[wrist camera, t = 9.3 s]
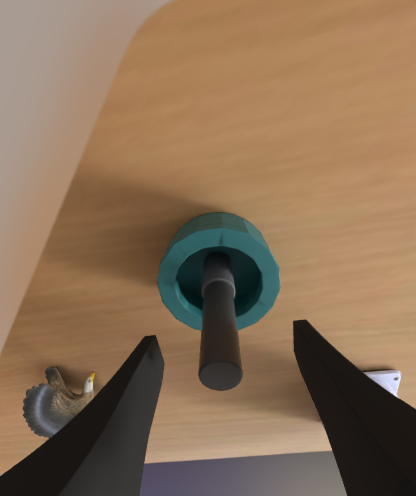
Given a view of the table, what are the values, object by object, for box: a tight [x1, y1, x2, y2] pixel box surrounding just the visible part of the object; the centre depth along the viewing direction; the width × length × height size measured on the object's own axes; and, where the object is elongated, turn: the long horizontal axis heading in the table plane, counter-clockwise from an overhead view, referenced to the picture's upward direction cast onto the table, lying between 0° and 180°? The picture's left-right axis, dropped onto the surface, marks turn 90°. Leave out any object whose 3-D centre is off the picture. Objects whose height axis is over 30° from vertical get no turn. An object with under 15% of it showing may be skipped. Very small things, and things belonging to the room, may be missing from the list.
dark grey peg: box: [198, 251, 243, 391], centre depth 15 cm, size 2×2×11 cm
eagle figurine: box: [23, 367, 95, 438], centre depth 25 cm, size 8×7×9 cm
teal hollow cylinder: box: [157, 212, 280, 331], centre depth 19 cm, size 9×9×4 cm
